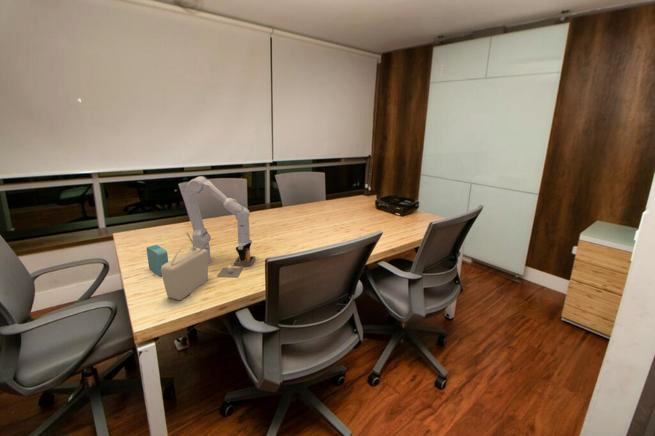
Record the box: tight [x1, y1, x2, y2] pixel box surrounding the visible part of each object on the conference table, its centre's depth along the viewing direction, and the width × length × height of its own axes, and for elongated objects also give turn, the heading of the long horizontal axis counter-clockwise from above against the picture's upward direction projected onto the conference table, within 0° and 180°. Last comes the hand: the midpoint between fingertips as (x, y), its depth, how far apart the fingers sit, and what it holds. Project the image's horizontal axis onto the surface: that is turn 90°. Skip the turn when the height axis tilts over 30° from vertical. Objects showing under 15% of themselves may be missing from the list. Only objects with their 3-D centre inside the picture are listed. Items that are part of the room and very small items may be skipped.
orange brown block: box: [238, 248, 251, 263], centre depth 165 cm, size 4×4×7 cm
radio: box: [161, 231, 209, 301], centre depth 136 cm, size 22×8×25 cm, turn 163°
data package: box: [146, 244, 169, 277], centre depth 153 cm, size 12×4×12 cm, turn 50°
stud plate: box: [216, 265, 244, 279], centre depth 154 cm, size 10×10×4 cm
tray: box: [233, 255, 256, 267], centre depth 166 cm, size 9×9×2 cm
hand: (244, 257), depth 165 cm, fingers open, 7 cm apart
